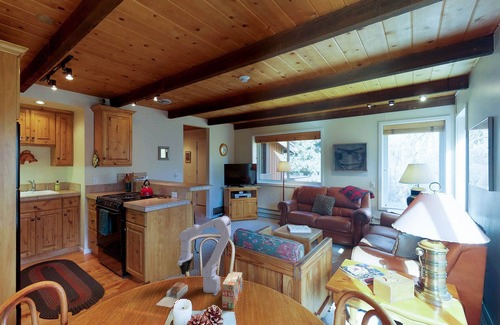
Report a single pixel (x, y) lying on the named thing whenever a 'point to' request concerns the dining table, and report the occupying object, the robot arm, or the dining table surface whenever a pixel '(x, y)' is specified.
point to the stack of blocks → (231, 289)
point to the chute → (172, 297)
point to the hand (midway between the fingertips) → (185, 272)
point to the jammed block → (177, 287)
